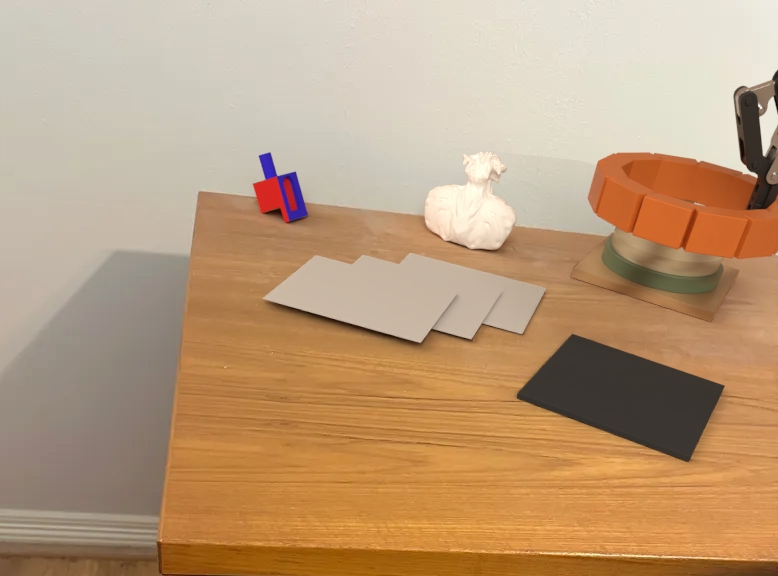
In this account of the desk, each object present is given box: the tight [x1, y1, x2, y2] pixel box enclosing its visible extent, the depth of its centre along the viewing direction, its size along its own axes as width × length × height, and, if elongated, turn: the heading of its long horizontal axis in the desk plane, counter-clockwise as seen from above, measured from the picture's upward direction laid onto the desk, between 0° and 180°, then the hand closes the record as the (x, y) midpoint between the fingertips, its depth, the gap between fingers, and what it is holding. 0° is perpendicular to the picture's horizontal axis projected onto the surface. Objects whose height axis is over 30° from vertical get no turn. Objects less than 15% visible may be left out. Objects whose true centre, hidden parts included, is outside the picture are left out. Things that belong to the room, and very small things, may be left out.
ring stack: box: [570, 198, 740, 323], centre depth 104 cm, size 17×17×10 cm
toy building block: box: [252, 152, 309, 223], centre depth 105 cm, size 4×4×8 cm
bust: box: [423, 151, 518, 251], centre depth 106 cm, size 12×8×11 cm
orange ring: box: [587, 151, 778, 260], centre depth 71 cm, size 16×16×3 cm
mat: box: [516, 333, 726, 463], centre depth 81 cm, size 16×16×1 cm
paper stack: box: [261, 252, 547, 344], centre depth 92 cm, size 23×25×1 cm
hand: (770, 229), depth 71 cm, fingers closed on orange ring, 2 cm apart
